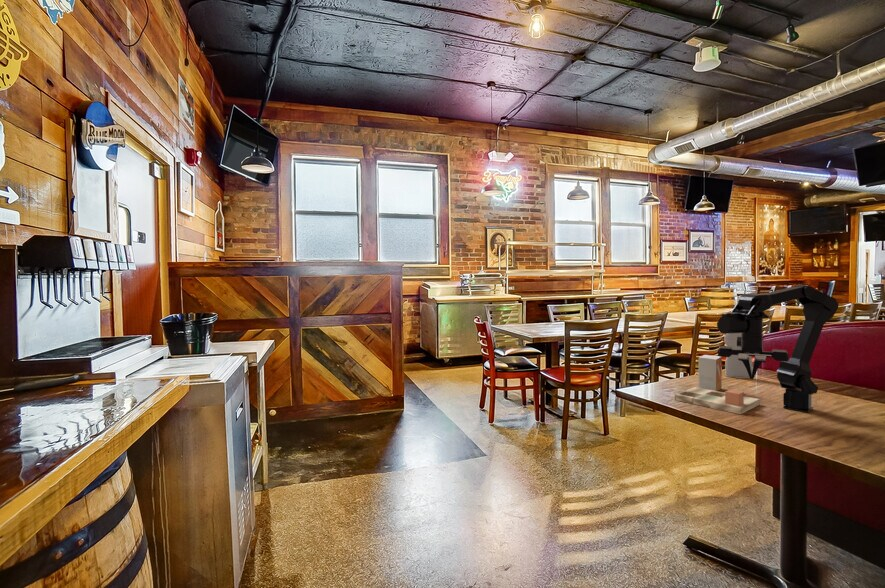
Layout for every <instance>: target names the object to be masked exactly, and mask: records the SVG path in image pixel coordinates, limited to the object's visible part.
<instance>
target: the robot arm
mask: <svg viewBox="0 0 885 588" xmlns="http://www.w3.org/2000/svg"><path fill="white" fill-rule="evenodd" d="M795 300H797V302H798V304H800V305H802V306H803V307H802V314H803V316H804V322H803V325H802V327H801V329H800V331H799V332H800V333H799V335H798V338H797V339H796V343H795V345H794V348H793V351H792V354H791V356H790V358H789V353H788V351H787V350H786V349H771V351H764V349H763V348H764V347H763V346H764V344H763V343H764V341H763V340H764V339H763V337H764V336H763V335H764V334H763V330H764V329H763V328H764V321H763V320H766V319H770V316H769V315H767V314H766V313H765V311H767V310H769V309H771V308H772V307H774V306H775V305H778V304H782V303H787V302H791V301H795ZM839 307H840V306H839V302H838V301H837V299H836V298H835V297H833V296H831V295H829V294H827V293H825V292H823V291H820V290H818V289H816V288H814V287H813V286H811V285H808V284H795V285H793V286H789V287H787V288H786V287H785V288H782V289H778V290H775V291H770V292H766V293H748V294H747V293H746V294H741V295H740V296H739V298H738V300H737V301H736V303H735V305H734V306H733V308H732V310H731V311H730V312H722V313H721V316H720V317H719V318H718V320H717V323H716V327H717V330H718V331H719V332H720V333H721V334H722V335H723V334H724V335H726V334H730V333H741V337H737V347H741V350H735V349H732V347H727V346H726V345H724V346H723V345H720V346H719V347H718V348H717V356H720V357H722V358H727V357H730V356H731V355H738V356H739V358H738V360H739V361H742V362H743V364H744V365H745V367H746V369H747V372H748V374H749V377H750V380H753V381H754V378H755V376H756V374H757V371H758V370H759V368H760V367H761V364H762V363H767V362H766V361H767V360H766V359H767V358H772V359H773V360H775V362H777V361H778V362H779V364H778V365H779V366H778V369H777V370H776V374H777V375H776V378H777V379H778V381H779V384H780V387H781V389H785V391H784V392H783V395H782V396H783V397H782V398H783V400H782V401H783V408H784V409H787V410H791V411H792V410H793V411H798V412H803V413H809V412H811V411H812V410H813V409H814V407H813V406H812V401H813V400H812V395H814V394H817V393H818V389H819V386H818V385H817V384H816V383H815V382H814V381H812V379H811V378H812V370H811V366H810V362H811V360H812V357H813V354H814V351H815V348H816V346H817V344H818V341H819V339H820V336H821V333H822V330H823V328H824V325H825V324H826V323H827V322H829V321H830V320H831V319H832V318H833V317H834V316H835V314H836V313H837V311H838V309H839ZM749 356H751V357H754V360H753V370H752V372H751V366H750V359H749Z"/></svg>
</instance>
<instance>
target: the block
mask: <svg viewBox="0 0 885 588" xmlns="http://www.w3.org/2000/svg"><path fill="white" fill-rule="evenodd" d="M724 393H725V403H727V404H732V405H736V406H740V405H742V404H744V396H745V395H744V394H745V393H744V391H741V390H734V389H728V390H726V391H725V392H724Z"/></svg>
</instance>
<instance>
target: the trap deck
mask: <svg viewBox="0 0 885 588" xmlns="http://www.w3.org/2000/svg"><path fill="white" fill-rule="evenodd" d="M760 400H761V399H760V398H755V397H750V396H745V395H744V404H742V405H740V406H736V405H732V404H727V403H725V392H723V391H720V390H718V391H714V390H708V389H703V388H698V387H696V386H694V387H692V388H689V389H686V390H684V391H681V392H678V393H675V394H674V401H677V402H678V401H679V402H683V403H688V404H690V405H691V404H692V405H697V406H701V407H704V408H705V407H706V408H710V409H715V410H719V411H722V412H724V411H725V412H729V413H733V414H738V415H742V414H744V413H746V412H748V411H750V410H752V409H754V408H756V407H759V406H760V405H761V401H760Z"/></svg>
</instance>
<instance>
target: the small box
mask: <svg viewBox="0 0 885 588" xmlns="http://www.w3.org/2000/svg"><path fill="white" fill-rule="evenodd" d="M722 358H723V357H720V356H718V355H710V354H703V355H700V356H699V357H698V388H703V389H708V390H714V391H720V390H722V387H723V386H722V383H723V381H722V378H723V377H722V375H723V373H722V371H723V370H722V369H723V367H722V366H723V365H722V363H723V359H722Z"/></svg>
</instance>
